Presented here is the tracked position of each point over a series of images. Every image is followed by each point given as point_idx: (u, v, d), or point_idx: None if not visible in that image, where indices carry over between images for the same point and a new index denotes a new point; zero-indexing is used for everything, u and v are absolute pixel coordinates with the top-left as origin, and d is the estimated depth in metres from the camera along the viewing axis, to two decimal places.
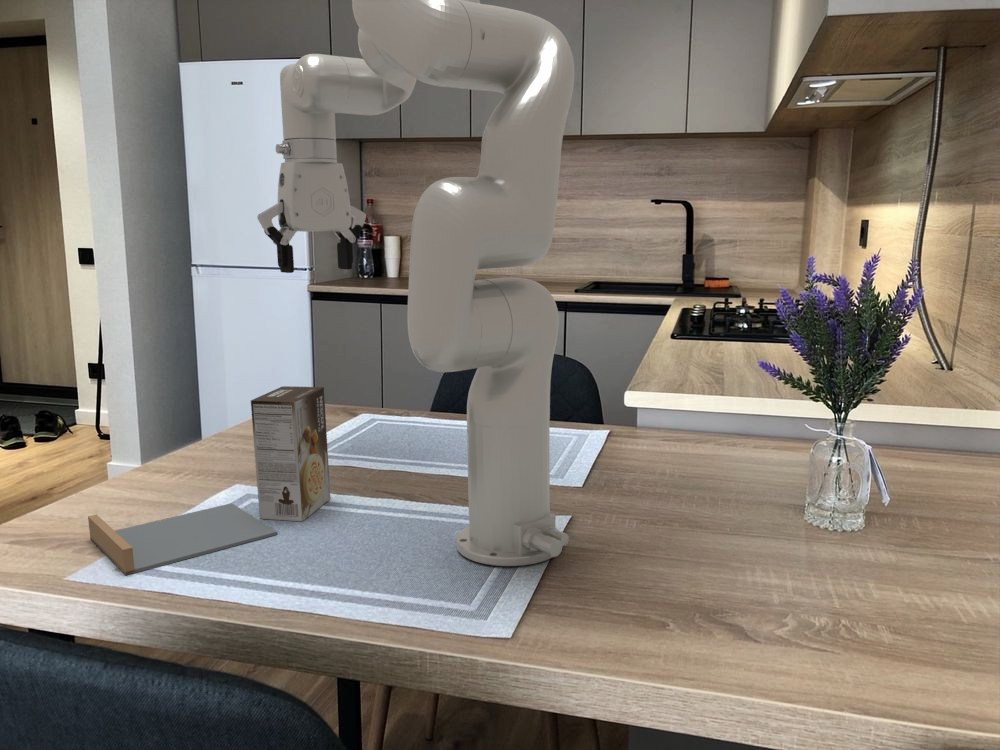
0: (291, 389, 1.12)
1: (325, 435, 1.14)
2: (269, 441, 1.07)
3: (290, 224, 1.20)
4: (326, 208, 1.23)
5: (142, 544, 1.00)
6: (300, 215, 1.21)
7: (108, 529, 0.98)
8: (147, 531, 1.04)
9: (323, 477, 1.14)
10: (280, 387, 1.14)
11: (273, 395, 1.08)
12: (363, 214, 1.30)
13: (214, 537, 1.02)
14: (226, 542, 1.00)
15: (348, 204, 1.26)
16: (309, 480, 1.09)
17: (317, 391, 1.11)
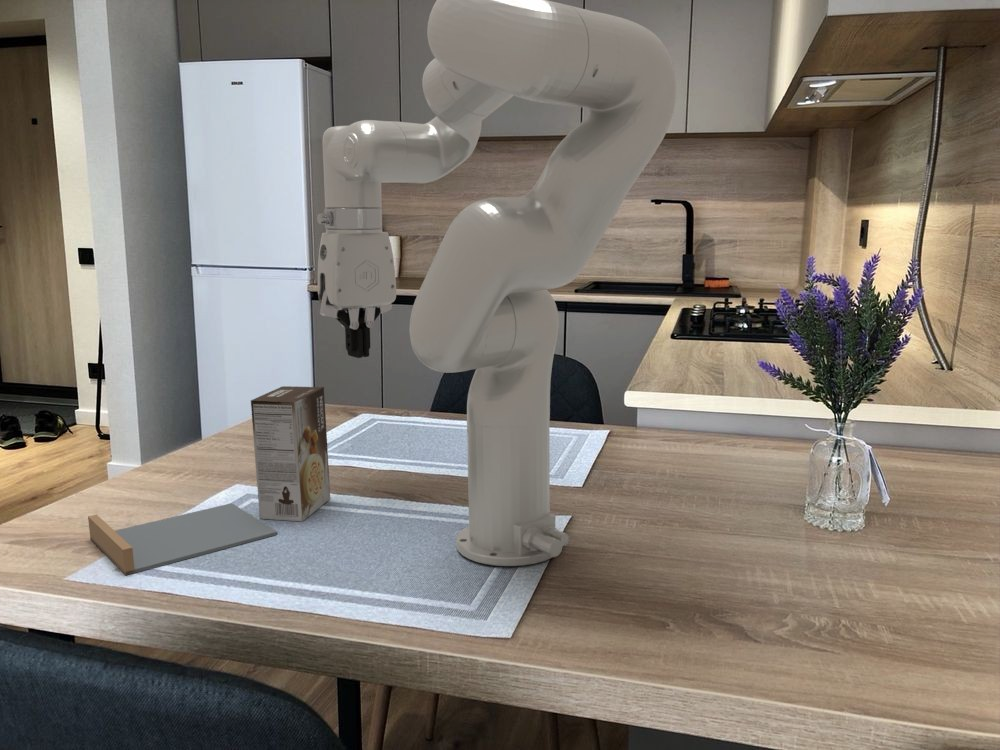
0: (291, 389, 1.12)
1: (325, 435, 1.14)
2: (269, 441, 1.07)
3: (332, 301, 1.10)
4: (370, 282, 1.13)
5: (142, 544, 1.00)
6: (343, 291, 1.10)
7: (108, 529, 0.98)
8: (147, 531, 1.04)
9: (323, 477, 1.14)
10: (280, 387, 1.14)
11: (273, 395, 1.09)
12: (390, 305, 1.18)
13: (214, 537, 1.02)
14: (226, 542, 1.00)
15: (393, 276, 1.15)
16: (309, 480, 1.09)
17: (317, 391, 1.11)
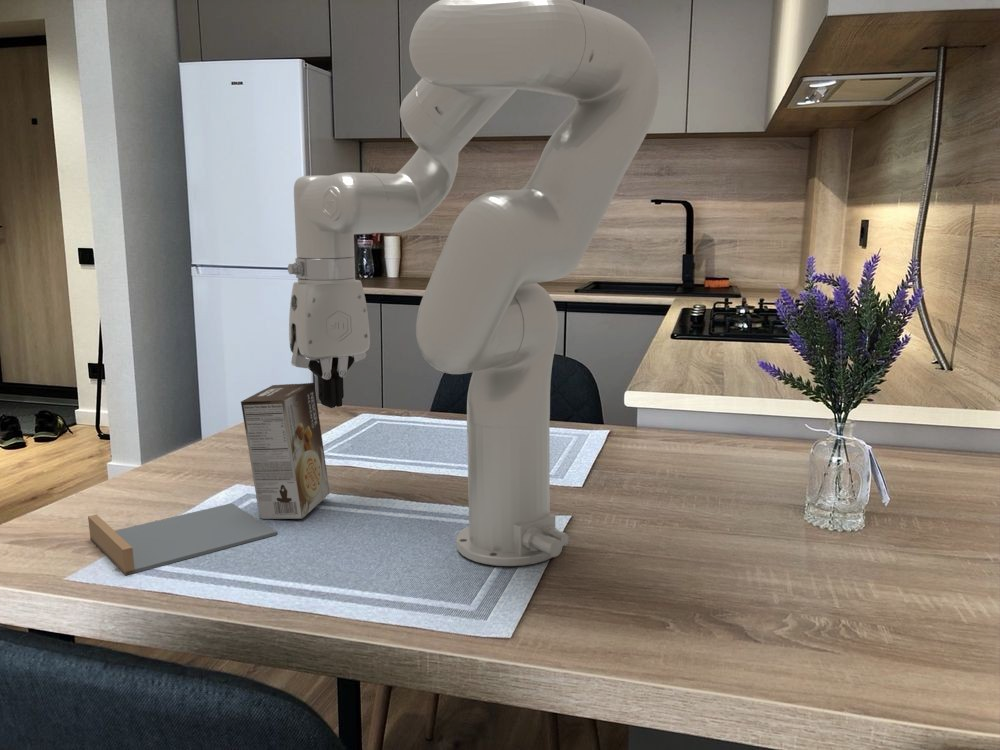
0: (281, 387, 1.11)
1: (319, 431, 1.14)
2: (262, 441, 1.07)
3: (303, 352, 1.09)
4: (343, 332, 1.11)
5: (142, 544, 1.00)
6: (314, 342, 1.09)
7: (108, 529, 0.98)
8: (147, 531, 1.04)
9: (320, 473, 1.13)
10: (271, 386, 1.13)
11: (263, 394, 1.08)
12: (364, 354, 1.16)
13: (214, 537, 1.02)
14: (226, 542, 1.00)
15: (367, 325, 1.14)
16: (306, 477, 1.09)
17: (307, 387, 1.11)
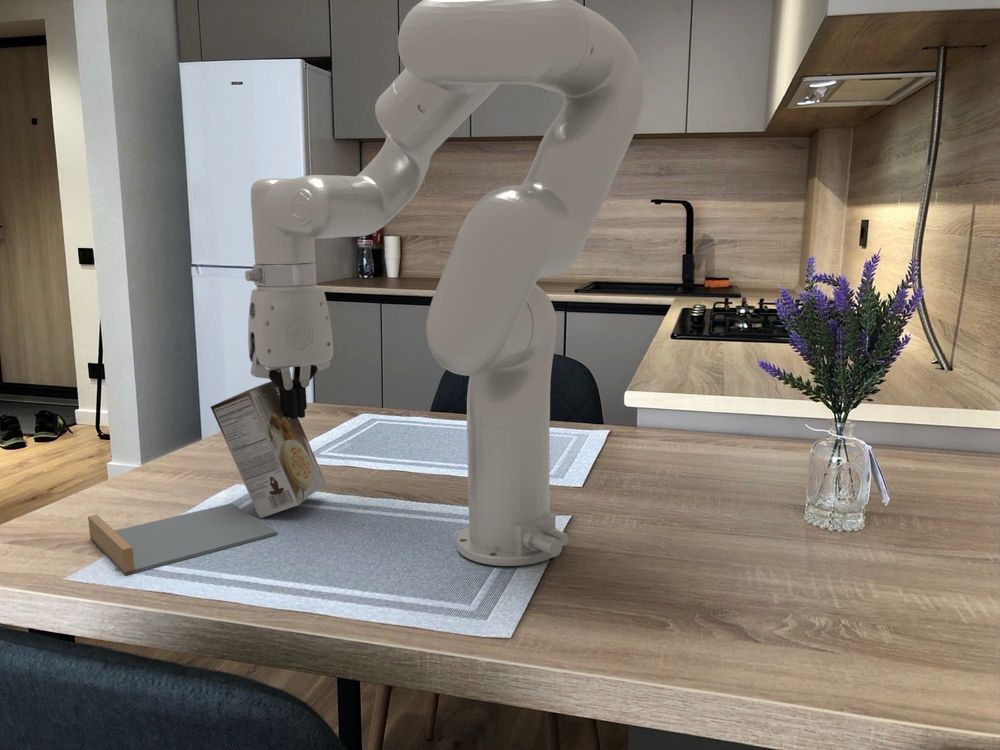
0: None
1: (298, 422, 1.15)
2: (241, 439, 1.08)
3: (261, 362, 1.05)
4: (304, 341, 1.07)
5: (142, 544, 1.00)
6: (273, 351, 1.05)
7: (108, 529, 0.98)
8: (147, 531, 1.04)
9: (309, 462, 1.14)
10: None
11: (232, 397, 1.10)
12: (328, 363, 1.12)
13: (214, 537, 1.02)
14: (226, 542, 1.00)
15: (329, 333, 1.10)
16: (293, 465, 1.10)
17: None
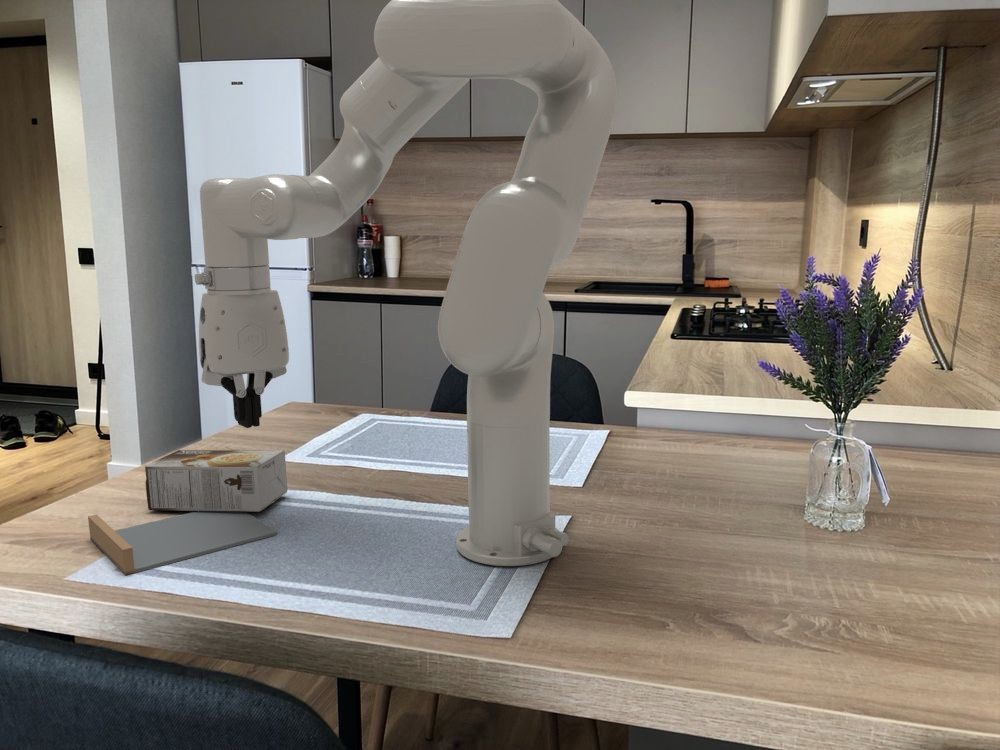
0: None
1: (221, 450, 1.18)
2: (183, 494, 1.11)
3: (212, 369, 1.01)
4: (257, 346, 1.03)
5: (142, 544, 1.00)
6: (224, 358, 1.01)
7: (108, 529, 0.98)
8: (147, 531, 1.04)
9: (251, 453, 1.16)
10: None
11: None
12: (284, 369, 1.08)
13: (214, 537, 1.02)
14: (226, 542, 1.00)
15: (285, 338, 1.06)
16: (231, 460, 1.12)
17: (171, 453, 1.18)
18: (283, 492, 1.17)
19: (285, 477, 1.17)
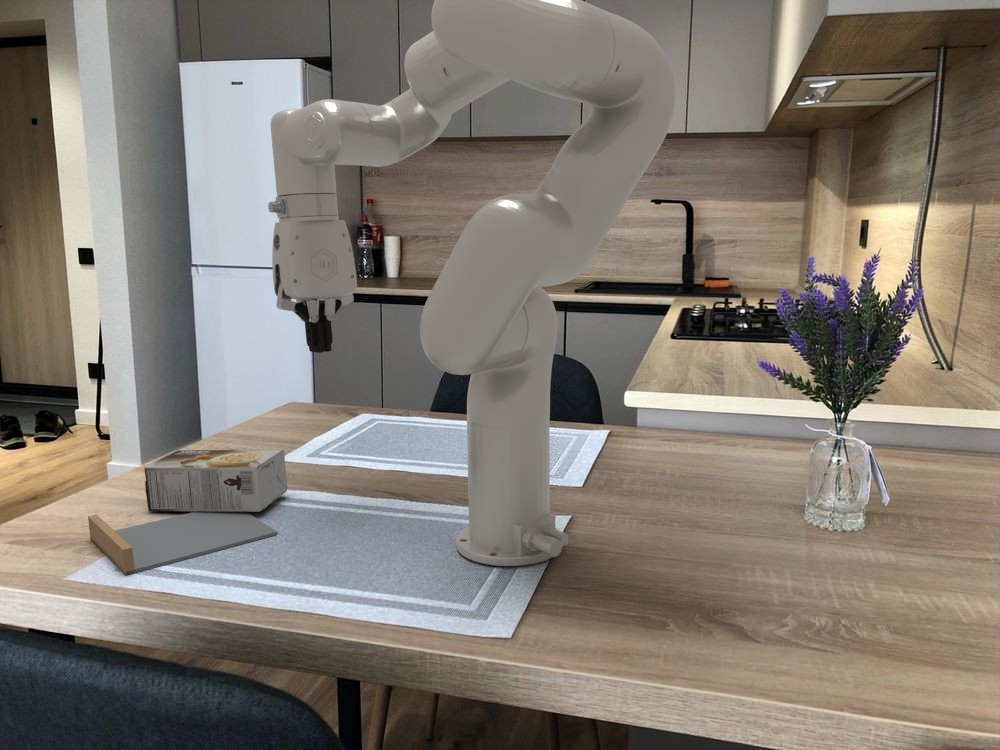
0: None
1: (220, 450, 1.18)
2: (183, 495, 1.11)
3: (288, 292, 1.05)
4: (328, 272, 1.08)
5: (142, 544, 1.00)
6: (299, 282, 1.05)
7: (108, 529, 0.98)
8: (147, 531, 1.04)
9: (250, 453, 1.16)
10: None
11: None
12: (351, 297, 1.13)
13: (214, 537, 1.02)
14: (226, 542, 1.00)
15: (353, 265, 1.10)
16: (230, 461, 1.12)
17: (171, 453, 1.17)
18: (283, 491, 1.17)
19: (285, 476, 1.17)
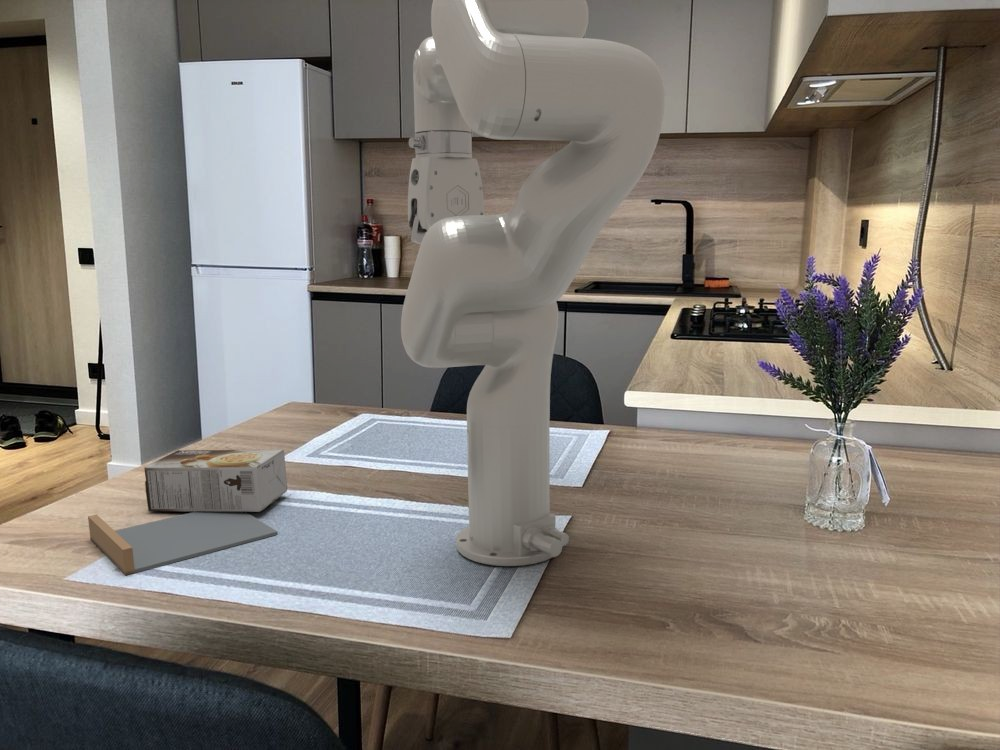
0: None
1: (220, 450, 1.18)
2: (183, 495, 1.11)
3: (424, 226, 1.09)
4: (461, 208, 1.12)
5: (142, 544, 1.00)
6: (435, 216, 1.09)
7: (108, 529, 0.98)
8: (147, 531, 1.04)
9: (251, 453, 1.16)
10: None
11: None
12: None
13: (214, 537, 1.02)
14: (226, 542, 1.00)
15: (482, 204, 1.14)
16: (230, 461, 1.12)
17: (171, 453, 1.17)
18: (283, 491, 1.17)
19: (285, 476, 1.17)
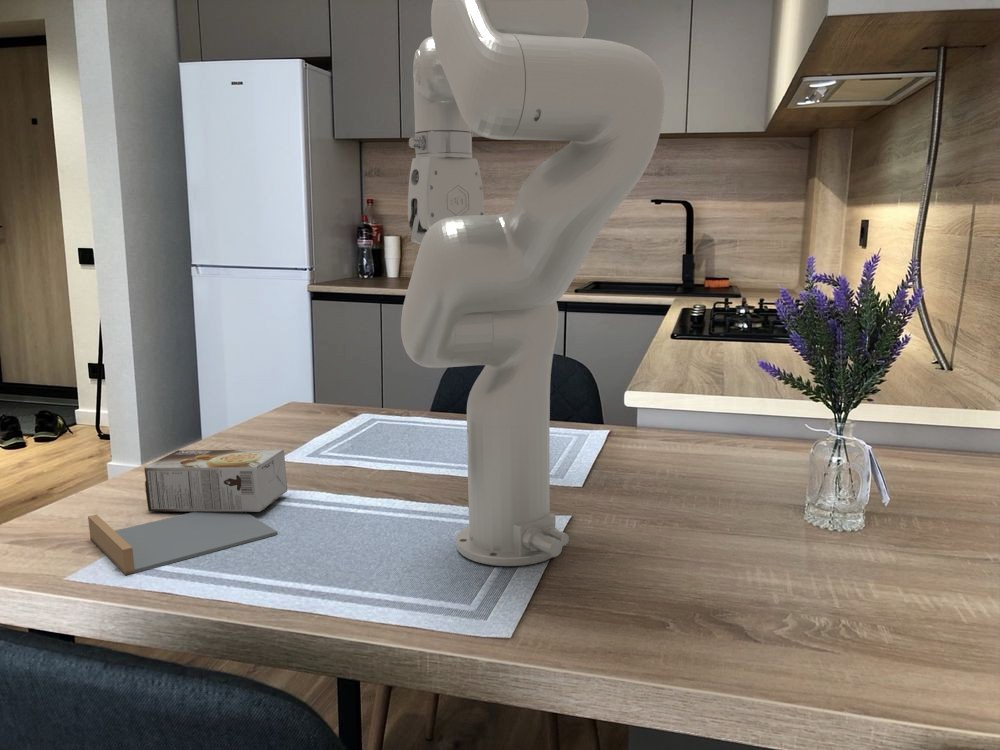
0: None
1: (220, 450, 1.18)
2: (183, 495, 1.11)
3: (425, 226, 1.09)
4: (461, 208, 1.12)
5: (142, 544, 1.00)
6: (435, 216, 1.09)
7: (108, 529, 0.98)
8: (147, 531, 1.04)
9: (250, 453, 1.16)
10: None
11: None
12: None
13: (214, 537, 1.02)
14: (226, 542, 1.00)
15: (482, 204, 1.14)
16: (230, 461, 1.12)
17: (170, 454, 1.17)
18: (283, 491, 1.17)
19: (285, 476, 1.17)
